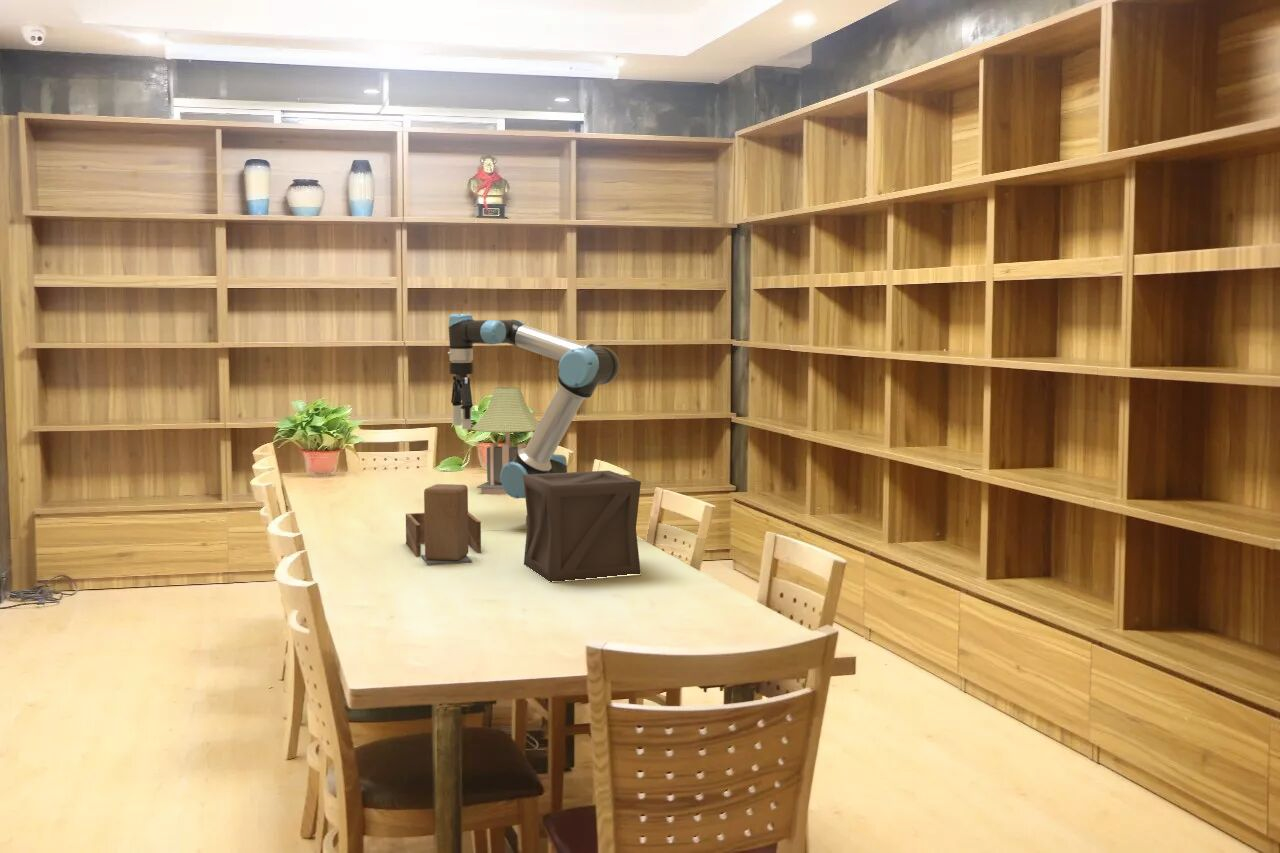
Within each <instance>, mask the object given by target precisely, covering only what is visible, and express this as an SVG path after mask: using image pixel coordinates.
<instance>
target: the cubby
mask: <svg viewBox="0 0 1280 853" xmlns="http://www.w3.org/2000/svg"><path fill="white" fill-rule="evenodd" d="M481 523H482V522H481V520H479V519H478V518H477V517H475V516H474V515H473V514H472V513H471V512H470V511H468V547H470V549H472V550H473V551H474V552H475V553H476V554H481V553H482V534H481V533H482V530H481V528H482V524H481ZM405 544H406V545H407V547H408V548H409V549H410V551H411V552H412V553H413V554H414V556H415V557H417V558H418V557H421V555H422V549H421V548H422V547H421V544H425V518H424V512H412V513H405Z"/></svg>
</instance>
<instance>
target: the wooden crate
mask: <svg viewBox="0 0 1280 853" xmlns="http://www.w3.org/2000/svg"><path fill="white" fill-rule="evenodd" d="M523 480H524V490H525V498H524V499H525V507H526V516H527V517H528V524H526V536H525V547H524V558H523V566H525V565H526V566H525V567H526V568H528V567H529V568H530V569H529V568H528V569H529V570H531V569H532V570H533V572H534V571H535V572H536V573H535V572H534V573H535V574H537V573H538V574H539V575H538V574H537V575H538V576H540V575H541V576H542V577H544V578H545V579H547V580H548V581H550V582H552V581H565V580H575V579H586V578H597V577H607V576H617V575H627V574H640V573H641V563H640V555H639V547H638V546H639V544H638V537H637V536H638V535H637V521H638V514H639V512H638V511H639V502H640V494H641V493H640V492H641V484H642V481H639V480H636V479H634V478H631V477H628V476H626V475H624V474H623V475H622V474H620V473H616V472H614V471H612V470H597V471H596V470H595V471H594V470H593V471H591V470H590V471H576V472H575V471H571V472H567V473H548V474H527V475H523ZM532 570H531V571H532ZM641 574H642V573H641ZM541 576H540V577H541ZM542 577H541V578H542ZM544 578H543V579H544ZM545 579H544V580H545ZM547 580H546V581H547ZM548 581H547V582H548ZM550 582H549V583H550ZM565 582H566V581H565Z"/></svg>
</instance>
